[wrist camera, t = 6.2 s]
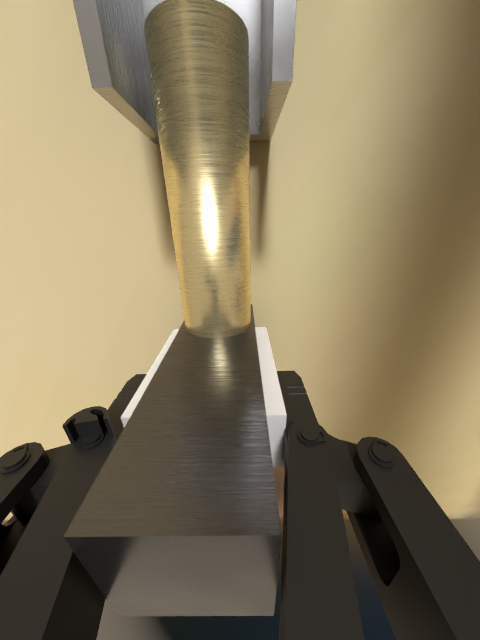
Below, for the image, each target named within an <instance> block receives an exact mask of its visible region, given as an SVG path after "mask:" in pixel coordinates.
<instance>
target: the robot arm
mask: <svg viewBox="0 0 480 640" xmlns="http://www.w3.org/2000/svg"><path fill="white" fill-rule="evenodd" d="M178 331H179V329H174V330H173V332H172V333H171V335H170V337H169V338H168V340H167V342H166V343H165V345H164V347H163V348H162V350H161V352H160V353H159V355H158V356H157V358H156V360H155V361H154V363H153V365H152V366H151V368H150V370H149V371H148V373H147V374H136V375H135V376H134V377H133V378H131V379H130V380H129V381H127V383H126V384H125V386H124V387H123V389H122V391H120V393H119V394H118V396H117V398H116V399H115V400H114V401H113V403H112V404H111V406H110V407H109V409H108V410H106V408H103V407H101V406H97V407H90V408H86V409H83V410H81V411H79V412H77V413H75V414H74V415H73V416H71V417H70V418H69V419H68V420H67V421H66V422H65V423H64V424H63V428H64V430H65V432H66V434H67V436H68V438H69V440H70V442H71V444H68V445H64V446H61V447H57V448H54V449H50V450H46V451H45V450H44V449H43V447H42V445H41V444H40V443H36V442H33V443H26V444H23V445H21V446H18V447H16V448H14V449H12V450H11V451H9V452H7V453H5V454H4V455H3V456H2V457H0V640H96V638H97V633H98V629H99V624H100V620H101V616H102V611H103V606H104V602H105V597H104V595H103V594H102V592H101V591H100V589H99V588H98V587H97V585H96V584H95V582H94V581H93V579H92V578H91V576H90V575H89V574H88V572H87V571H86V569H85V568H84V566H83V565H82V564H81V562H80V561H79V559H78V558H77V556H76V555H75V553H74V552H73V551H72V549H71V548H70V546H69V545H68V543H67V542H66V540H65V539H64V538H63V536H64V535H65V533H66V531H67V529H68V527H69V526H70V524H71V522H72V520H73V518H74V517H75V515H76V513H77V511H78V510H79V508H80V506H81V504H82V502H83V501H84V499H85V497H86V495H87V493H88V492H89V490H90V488H91V486H92V485H93V483H94V481H95V479H96V477H97V476H98V474H99V472H100V470H101V468H102V467H103V465H104V463H105V461H106V460H107V458H108V456H109V454H110V452H111V451H112V449H113V447H114V445H115V443H116V442H117V440H118V438H119V436H120V435H121V433H122V431H123V429H124V427H125V426H126V424H127V422H128V420H129V418H130V417H131V415H132V413H133V411H134V410H135V408H136V406H137V404H138V402H139V401H140V399H141V397H142V395H143V393H144V392H145V390H146V388H147V386H148V385H149V383H150V381H151V379H152V377H153V376H154V374H155V372H156V370H157V368H158V367H159V365H160V363H161V361H162V359H163V358H164V356H165V354H166V352H167V351H168V349H169V347H170V345H171V343H172V342H173V340H174V338H175V336H176V334H177V333H178ZM255 332H256V339H257V347H258V355H259V363H260V370H261V378H262V386H263V394H264V401H265V409H266V417H267V425H268V432H269V440H270V448H271V455H272V463H273V468H282V465H283V464H284V470H285V477H284V488H283V493H284V503H283V538H282V540H283V541H282V574H281V607H280V608H281V609H280V640H364V636H363V631H362V625H361V619H360V613H359V607H358V602H357V595H356V590H355V584H354V578H353V572H352V566H351V560H350V555H349V549H348V543H347V537H346V531H345V525H344V519H343V514H342V509H344V510H346V511H347V514H348V516H349V519H350V521H351V523H352V526H353V529H354V532H355V534H356V537H357V539H358V542H359V544H360V547H361V549H362V552H363V554H364V557H365V560H366V562H367V565H368V567H369V570H370V572H371V575H372V578H373V580H374V583H375V585H376V588H377V590H378V593H379V595H380V598H381V600H382V603H383V606H384V608H385V611H386V613H387V616H388V618H389V621H390V624H391V626H392V629H393V631H394V633H395V636H396V639H397V640H480V561H479V560H478V559H477V557H476V556H475V554H474V553H473V552H472V550H471V549H470V548H469V546H468V545H467V543H466V542H465V541H464V539H463V538H462V536H461V535H460V534H459V532H458V531H457V530H456V528H455V527H454V525H453V524H452V523H451V521H450V520H449V518H448V517H447V516H446V514H445V513H444V511H443V510H442V509H441V507H440V506H439V505H438V503H437V502H436V500H435V499H434V498H433V496H432V495H431V493H430V492H429V491H428V489H427V488H426V487H425V485H424V484H423V482H422V481H421V480H420V478H419V477H418V475H417V474H416V473H415V471H414V470H413V468H412V467H411V466H410V464H409V463H408V462H407V460H406V459H405V457H404V456H403V455H402V454H401V453H400V452H399V450H398V449H397V448H396V447H394V446H393V445H391V444H390V443H388V442H387V441H385V440H382V439H380V438H376V437H366V438H362V439H361V440H360V441H359V442H358V444H354V443H350V442H346V441H343V440H340V439H337V438H334V437H332V436H331V435H329V434H328V433H327V432H326V431H325V430H324V429H323V427H321V426H320V425H319V424H318V422H317V419H316V417H315V414H314V411H313V409H312V406H311V403H310V401H309V398H308V395H307V393H306V390H305V388H304V385H303V382H302V379H301V377H300V376H299V375H298V374H297V373H296V372H295V371H276V367H275V363H274V358H273V354H272V350H271V345H270V341H269V337H268V332H267V328H266V327H255ZM10 512H11V513H12V514H13V517H12V518H11V519H10V520H9V521H8V522H7V523H6V524H3V525H2V524H1V523H2V521H3V520H4V519H5V518H6V517H7V515H8V514H9V513H10Z"/></svg>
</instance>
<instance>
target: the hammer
mask: <svg viewBox="0 0 480 640" xmlns="http://www.w3.org/2000/svg"><path fill="white" fill-rule="evenodd" d="M144 36H145V43H146V50H147V57H148V64H149V71H150V78H151V85H152V92H153V100H154V107H155V114H156V121H157V128H158V135H159V142H160V149H161V156H162V164H163V171H164V178H165V185H166V192H167V199H168V206H169V213H170V220H171V227H172V235H173V242H174V249H175V256H176V263H177V270H178V277H179V284H180V291H181V298H182V306H183V313H184V322H183V324H182V326H181V327H180V329H179V331H178V333H177V334H176V336H175V338H174V340H173V342H172V343H171V345H170V347H169V349H168V351H167V352H166V354H165V356H164V358H163V359H162V361H161V363H160V365H159V367H158V368H157V370H156V372H155V374H154V376H153V377H152V379H151V381H150V383H149V385H148V386H147V388H146V390H145V392H144V393H143V395H142V397H141V399H140V401H139V402H138V404H137V406H136V408H135V410H134V411H133V413H132V415H131V417H130V418H129V420H128V422H127V424H126V426H125V427H124V429H123V431H122V433H121V435H120V436H119V438H118V440H117V442H116V443H115V445H114V447H113V449H112V451H111V452H110V454H109V456H108V458H107V460H106V461H105V463H104V465H103V467H102V468H101V470H100V472H99V474H98V476H97V477H96V479H95V481H94V483H93V485H92V486H91V488H90V490H89V492H88V493H87V495H86V497H85V499H84V501H83V502H82V504H81V506H80V508H79V510H78V511H77V513H76V515H75V517H74V518H73V520H72V522H71V524H70V526H69V527H68V529H67V531H66V533H65V535H64V536H63V538H64V539H65V540H66V542H67V543H68V545H69V546H70V548H71V549H72V551H73V552H74V553H75V555H76V556H77V558H78V559H79V561H80V562H81V564H82V565H83V566H84V568H85V569H86V571H87V572H88V574H89V575H90V576H91V578H92V579H93V581H94V582H95V584H96V585H97V587H98V588H99V589H100V591H101V592H102V594H103V595H104V597H105V598H106V600H107V601H108V602H109V604H110V605H111V607H112V608H113V610H114V611H115V612H116V614H117V615H118V616H274V607H275V598H276V588H277V578H278V568H279V558H280V548H281V538H282V533H281V525H280V517H279V510H278V502H277V494H276V486H275V479H274V471H273V463H272V455H271V448H270V440H269V432H268V425H267V417H266V409H265V401H264V394H263V386H262V378H261V370H260V363H259V355H258V347H257V339H256V332H255V324H254V316H253V309H252V304H251V303H250V150H249V35H248V30H247V28H246V25H245V23H244V22H243V20H242V19H241V17H240V16H239V15H238V14H237V13H236V12H235V11H234V10H232V9H231V8H230V7H228V6H227V5H225V4H223V3H221V2H219V1H216V0H165V1H163V2H161V3H159V4H158V5H157V6H155V7H154V8H153V9H152V10H151V11H150V13H149V14H148V16H147V18H146V20H145V23H144Z"/></svg>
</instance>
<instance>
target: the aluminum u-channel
mask: <svg viewBox="0 0 480 640" xmlns="http://www.w3.org/2000/svg"><path fill="white" fill-rule="evenodd" d="M163 1H165V0H73V3H74V8H75V12H76V17H77V21H78V26H79V30H80V35H81V39H82V44H83V48H84V53H85V57H86V62H87V66H88V71H89V75H90V79H91V84H92V88H93V89H94V90H95V91H96V92H97V93H99V94H100V95H101V96H102V97H103V98H104V99H105V100H106V101H108V102H109V103H110V104H111V105H112V106H113V107H114V108H116V109H117V110H118V111H119V112H120V113H121V114H122V115H123V116H125V117H126V118H127V119H128V120H129V121H130V122H131V123H133V124H134V125H135V126H136V127H137V128H138V129H139V130H140V131H142V132H143V133H144V134H145V135H146V136H147V137H148V138H149V139H151V140H152V141H153V142H154V143H155V144H160V142H159V135H158V128H157V121H156V114H155V107H154V100H153V92H152V85H151V78H150V71H149V64H148V57H147V50H146V43H145V36H144V23H145V20H146V18H147V16H148V14H149V13H150V11H151V10H152V9H153V8H154V7H155V6H157V5H158V4H159V3H161V2H163ZM216 1H219V2H221V3H223V4H225V5H227V6H228V7H230V8H231V9H232V10H234V11H235V12H236V13H237V14H238V15H239V16H240V17H241V19H242V20H243V22H244V23H245V25H246V28H247V30H248V35H249V141H269V140H271V137H272V134H273V131H274V129H275V126H276V123H277V121H278V118H279V115H280V113H281V110H282V107H283V104H284V102H285V99H286V96H287V94H288V91H289V88H290V86H291V83H292V77H293V58H294V39H295V19H296V0H216Z"/></svg>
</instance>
